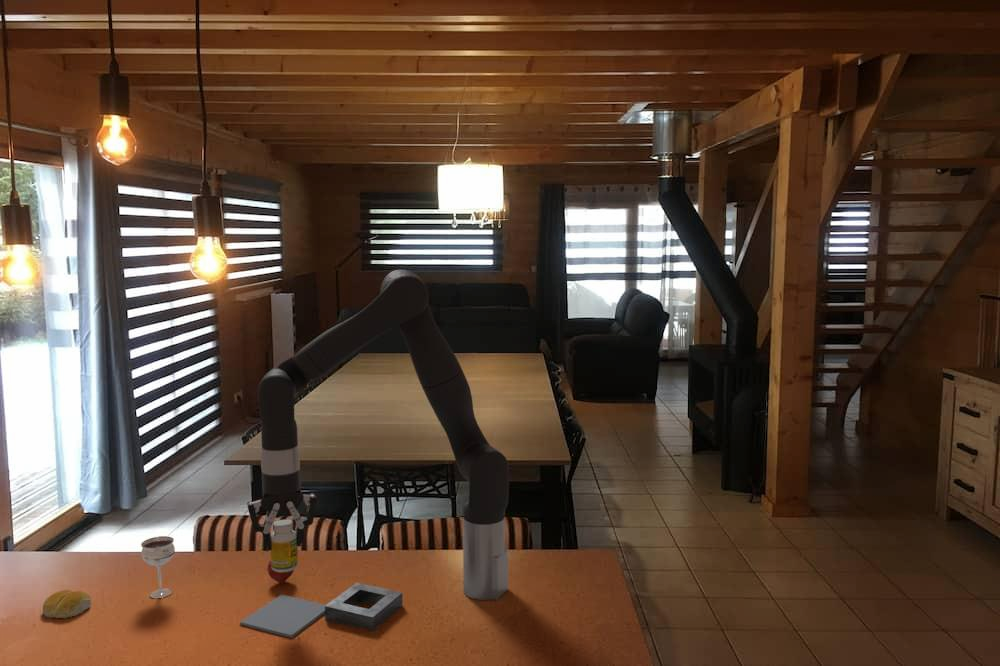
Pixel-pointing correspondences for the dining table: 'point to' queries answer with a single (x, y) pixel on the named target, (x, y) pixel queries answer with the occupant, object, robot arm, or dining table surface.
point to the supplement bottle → (283, 546)
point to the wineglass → (158, 558)
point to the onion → (278, 574)
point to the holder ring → (369, 619)
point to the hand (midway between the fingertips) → (284, 546)
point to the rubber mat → (285, 616)
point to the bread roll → (66, 604)
